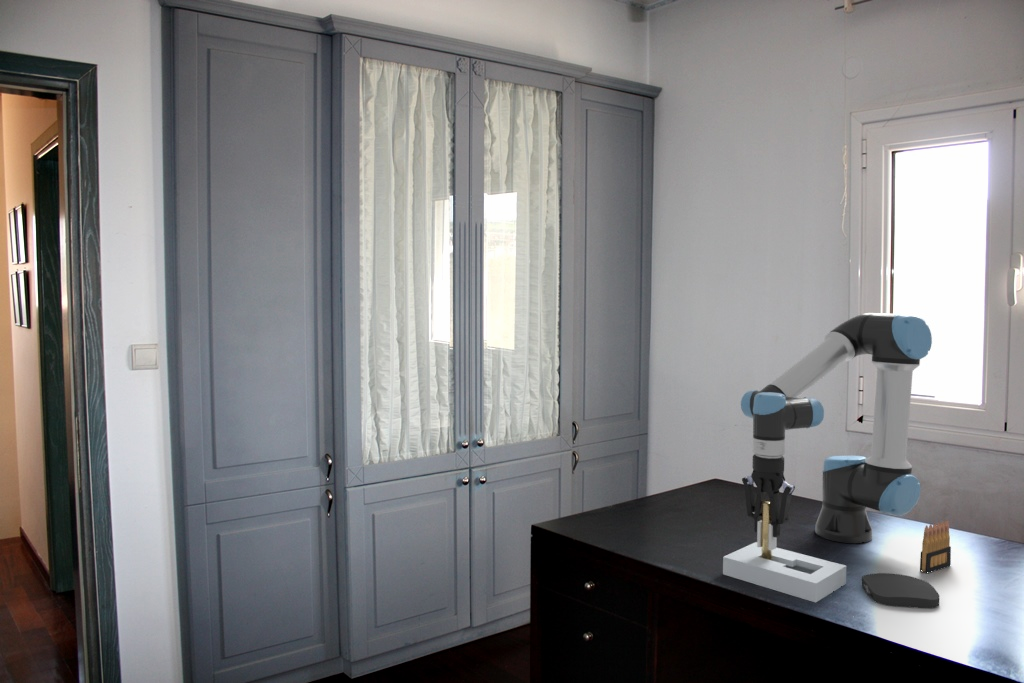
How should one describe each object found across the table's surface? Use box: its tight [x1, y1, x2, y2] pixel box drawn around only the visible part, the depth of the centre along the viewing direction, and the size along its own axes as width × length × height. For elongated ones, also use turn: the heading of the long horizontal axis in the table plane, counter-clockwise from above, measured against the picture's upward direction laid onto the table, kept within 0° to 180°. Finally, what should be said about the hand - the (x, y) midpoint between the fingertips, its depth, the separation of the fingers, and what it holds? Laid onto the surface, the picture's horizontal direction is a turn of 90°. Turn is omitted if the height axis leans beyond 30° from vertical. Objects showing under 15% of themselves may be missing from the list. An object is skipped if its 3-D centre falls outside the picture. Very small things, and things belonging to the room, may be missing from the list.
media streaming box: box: [861, 572, 940, 609], centre depth 179 cm, size 15×15×3 cm
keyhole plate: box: [722, 541, 847, 603], centre depth 189 cm, size 24×16×4 cm, turn 43°
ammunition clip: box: [919, 519, 952, 574], centre depth 195 cm, size 11×2×12 cm, turn 121°
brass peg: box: [761, 500, 772, 560], centre depth 192 cm, size 5×5×18 cm
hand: (766, 547), depth 192 cm, fingers closed on brass peg, 2 cm apart
